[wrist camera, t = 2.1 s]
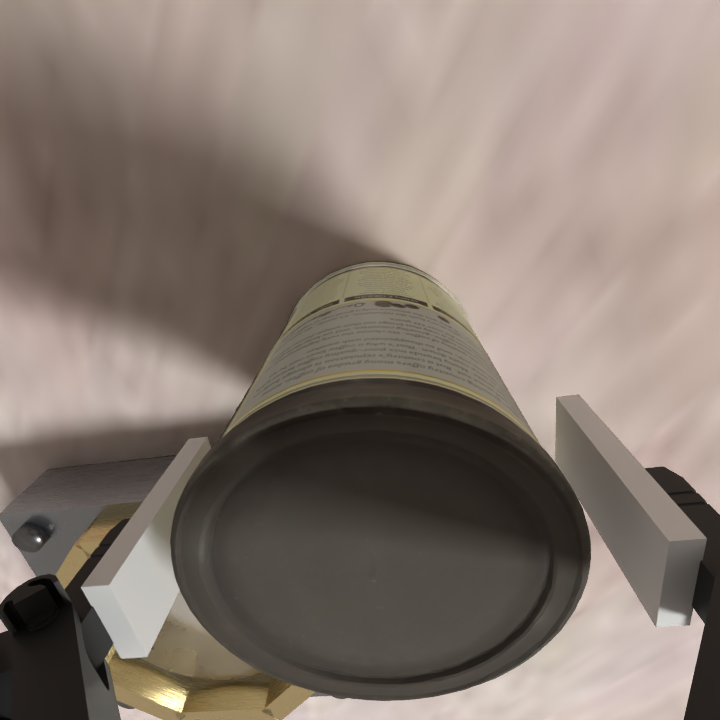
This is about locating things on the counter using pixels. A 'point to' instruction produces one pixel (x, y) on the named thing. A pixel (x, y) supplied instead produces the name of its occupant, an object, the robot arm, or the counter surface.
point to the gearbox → (181, 628)
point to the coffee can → (380, 504)
